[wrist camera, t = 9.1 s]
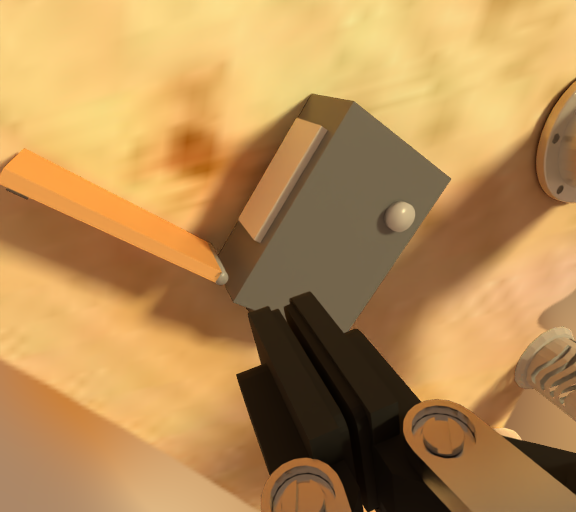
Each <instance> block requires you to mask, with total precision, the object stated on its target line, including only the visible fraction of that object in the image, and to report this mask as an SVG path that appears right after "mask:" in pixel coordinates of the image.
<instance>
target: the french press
mask: <svg viewBox="0 0 576 512" xmlns="http://www.w3.org/2000/svg"><path fill="white" fill-rule="evenodd" d="M515 381H516V383H517V385H518V386H519V387H521V388H525V389H535V390H536V391H538V392H539V393H541V394H542V395H543V396H544V397H546V398H547V399H548V400H549V401H550V402H552V403H553V404H554V405H556V406H557V407H558V408H559V409H561V410H562V411H563V412H564V413H566V414H567V415H568V416H570V417H571V418H572V419H573V420H575V421H576V385H573V384H576V341H575V340H574V337H573V334H572V332H571V330H570V329H568V328H566V327H557V328H552V329H550V330H548V331H547V332H545V333H543V334H541V335H540V336H539V337H538V338H537V339H535V340H534V341H533V342H532V343H531V344H530V345H529V346H528V348H527V349H526V350H525V352H524V353H523V354H522V356H521V357H520V359H519V362H518V364H517V367H516V369H515ZM557 385H559V386H558V387H557V388H556V389H555V390H554V391H552V392H550V391H549V388H551V387H554V386H557ZM571 385H573V386H571ZM544 390H545V391H544ZM572 390H575V391H573V392H571V393H569V394H568V396H566V397H563V398H560V399H559V395H560V394H562V393H565V392H568V391H572ZM553 397H554V398H553ZM563 403H564V404H565V406H563V405H562V404H563Z"/></svg>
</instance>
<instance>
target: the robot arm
mask: <svg viewBox="0 0 576 512" xmlns="http://www.w3.org/2000/svg"><path fill="white" fill-rule="evenodd" d="M536 169H537V176H538V180H539V183H540V185H541V187H542V189H543V190H544V192H545V193H546V194H547V195H548V196H550V197H551V198H553V199H555V200H559V201H562V202H565V203H576V81H575V82H574V83H573V84H572V85H571V86H570V87H569V88H568V89H567V90H566V91H565V93H564V94H563V95H562V96H561V98H560V99H559V100H558V102H557V103H556V105H555V106H554V108H553V110H552V111H551V113H550V115H549V117H548V119H547V121H546V123H545V126H544V128H543V131H542V133H541V137H540V141H539V144H538V149H537V157H536ZM289 302H290V304H289V305H286V306H284V313H285V317H286V320H285V318H284V317H283V315H282V313H281V312H280V310H279V309H275V310H272V311H271V309H270V307H269V306H266V307H263V308H261V309H258V310H255V311H252V312H249V313H248V318H249V322H250V325H251V329H252V332H253V336H254V340H255V343H256V347H257V351H258V354H259V358H260V361H261V365H260V366H257V367H254V368H252V369H249V370H247V371H244V372H242V373H239V374H236V376H237V379H238V383H239V386H240V389H241V392H242V395H243V398H244V401H245V404H246V407H247V410H248V413H249V416H250V419H251V422H252V425H253V428H254V431H255V434H256V437H257V440H258V443H259V446H260V449H261V451H262V454H263V457H264V460H265V463H266V466H267V469H268V472H269V475H270V477H269V479H268V480H267V482H266V483H265V486H264V489H263V492H262V495H261V512H364V511H363V506H364V508H365V509H366V511H367V512H370V511H372V510H374V509H375V510H376V512H576V453H573V452H569V451H565V450H561V449H557V448H552V447H548V446H544V445H540V444H536V443H531V442H527V441H523V440H519V439H515V438H510V437H506V436H502V435H500V434H499V433H498V432H496V431H495V430H494V429H493V428H491V427H490V426H489V425H488V424H486V423H485V422H484V421H483V420H481V419H480V418H479V417H478V416H476V415H475V414H474V413H473V412H471V411H470V410H468V409H467V408H465V407H463V406H462V405H460V404H457V403H454V402H451V401H449V400H439V399H434V400H427V401H423V402H421V401H420V400H419V399H418V398H417V396H416V395H415V394H414V393H413V392H412V391H411V389H410V388H409V387H408V386H407V385H406V384H405V382H404V381H403V380H402V379H401V378H400V377H399V375H398V374H397V373H396V372H395V371H394V370H393V368H392V367H391V366H390V365H389V364H388V363H387V361H386V360H385V359H384V358H383V357H382V356H381V354H380V353H379V352H378V351H377V350H376V349H375V348H374V346H373V345H372V344H371V343H370V342H369V341H368V339H367V338H366V337H365V336H364V335H363V334H362V333H361V332H360V331H359V330H358V329H353V330H350V331H348V332H345V333H343V331H342V330H341V329H340V328H339V326H338V325H337V324H336V322H335V321H334V320H333V319H332V317H331V316H330V315H329V314H328V312H327V311H326V310H325V309H324V307H323V306H322V305H321V304H320V302H319V301H318V300H317V299H316V297H315V296H314V295H313V293H312V292H310V291H309V292H306V293H303V294H300V295H297V296H294V297H292V298H290V299H289Z"/></svg>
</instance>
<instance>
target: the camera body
mask: <svg viewBox="0 0 576 512" xmlns="http://www.w3.org/2000/svg"><path fill="white" fill-rule="evenodd" d="M450 180H451V178H450V177H449V176H447V175H446V174H445V173H443V172H442V171H441V170H440V169H438V168H437V167H436V166H435V165H433V164H432V163H431V162H430V161H428V160H427V159H426V158H425V157H423V156H422V155H421V154H420V153H418V152H417V151H416V150H415V149H413V148H412V147H411V146H410V145H408V144H407V143H406V142H405V141H403V140H402V139H401V138H400V137H398V136H397V135H396V134H395V133H393V132H392V131H391V130H389V129H388V128H387V127H386V126H384V125H383V124H382V123H381V122H379V121H378V120H377V119H376V118H374V117H373V116H372V115H371V114H369V113H368V112H367V111H366V110H364V109H363V108H362V107H361V106H359V105H358V104H357V103H356V102H354V101H350V100H344V99H339V98H333V97H327V96H322V95H316V94H311V96H310V98H309V99H308V101H307V103H306V105H305V106H304V108H303V110H302V111H301V113H300V115H299V117H298V118H296V119H295V121H294V123H293V125H292V126H291V128H290V130H289V131H288V133H287V135H286V137H285V138H284V140H283V142H282V144H281V145H280V147H279V149H278V151H277V152H276V154H275V156H274V157H273V159H272V161H271V163H270V164H269V166H268V168H267V170H266V171H265V173H264V175H263V177H262V178H261V180H260V182H259V183H258V185H257V187H256V189H255V190H254V192H253V194H252V196H251V197H250V199H249V201H248V203H247V204H246V206H245V208H244V209H243V211H242V213H241V215H240V216H239V218H238V220H239V221H238V222H237V224H236V226H235V227H234V229H233V231H232V233H231V234H230V236H229V238H228V240H227V241H226V243H225V245H224V247H223V248H222V250H221V252H220V253H219V255H218V257H219V259H220V261H221V263H222V265H223V267H224V269H225V271H226V273H227V275H228V281H227V282H226V283H225V286H226V288H227V291H228V293H229V295H230V297H231V299H232V301H233V303H236V304H239V305H242V306H244V307H246V309H247V310H248V311H249V312H252V311H255V310H258V309H261V308H263V307H266V306H269V307H270V309H271V311H272V310H275V309H279V310H280V312H281V313H282V315H283V317H284V318H285V320H286V317H285V313H284V306H286V305H289V304H290V302H289V299H290V298H292V297H294V296H297V295H300V294H303V293H306V292H309V291H310V292H312V293H313V295H314V296H315V297H316V299H317V300H318V301H319V302H320V304H321V305H322V306H323V307H324V309H325V310H326V311H327V312H328V314H329V315H330V316H331V317H332V319H333V320H334V321H335V322H336V324H337V325H338V326H339V328H340V329H341V330H342V331H343V333H345V332H348V331H349V330H350V328H351V327H352V325H353V324H354V322H355V321H356V319H357V318H358V316H359V315H360V313H361V312H362V310H363V309H364V307H365V306H366V304H367V303H368V302H369V300H370V299H371V297H372V296H373V294H374V293H375V291H376V290H377V288H378V287H379V285H380V284H381V282H382V281H383V279H384V278H385V276H386V275H387V273H388V272H389V270H390V269H391V268H392V266H393V265H394V263H395V262H396V260H397V259H398V257H399V256H400V254H401V253H402V251H403V250H404V248H405V247H406V245H407V244H408V242H409V241H410V239H411V238H412V236H413V235H414V234H415V232H416V231H417V229H418V228H419V226H420V225H421V223H422V222H423V220H424V219H425V217H426V216H427V214H428V213H429V211H430V210H431V208H432V207H433V205H434V204H435V202H436V201H437V200H438V198H439V197H440V195H441V194H442V192H443V191H444V189H445V188H446V186H447V185H448V183H449V182H450Z"/></svg>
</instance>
